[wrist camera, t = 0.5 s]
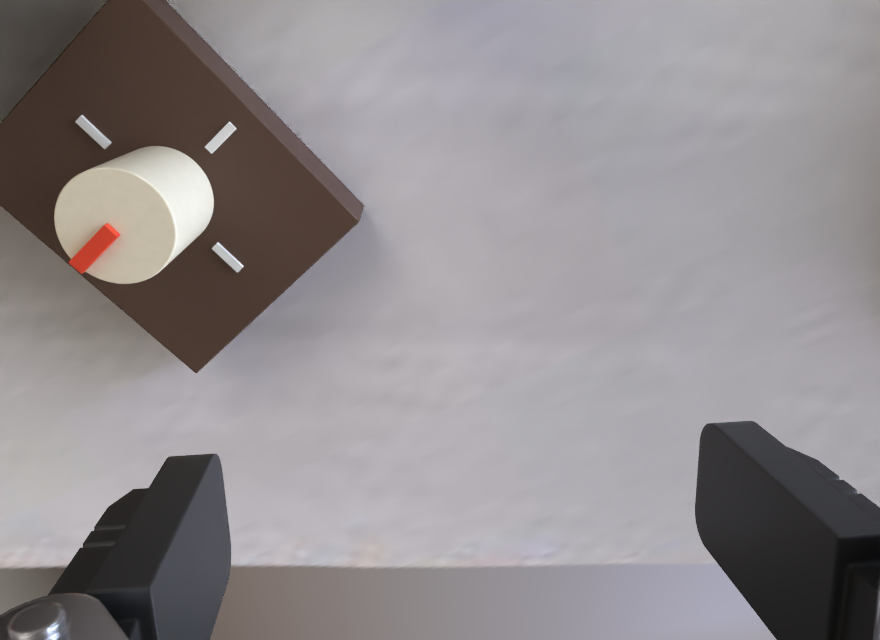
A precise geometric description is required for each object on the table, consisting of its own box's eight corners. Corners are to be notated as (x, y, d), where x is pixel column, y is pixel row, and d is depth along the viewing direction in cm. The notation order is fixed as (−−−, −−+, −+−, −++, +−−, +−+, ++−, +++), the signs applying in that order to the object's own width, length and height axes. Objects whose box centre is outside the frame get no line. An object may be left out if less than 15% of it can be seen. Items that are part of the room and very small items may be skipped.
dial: (156, 123, 28) (101, 142, 23) (234, 199, 29) (198, 233, 24) (90, 194, 29) (23, 226, 24) (169, 265, 30) (121, 310, 25)
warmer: (152, -14, 29) (122, -20, 26) (364, 205, 32) (359, 222, 30) (-1, 158, 31) (-44, 171, 28) (213, 346, 35) (195, 375, 32)
